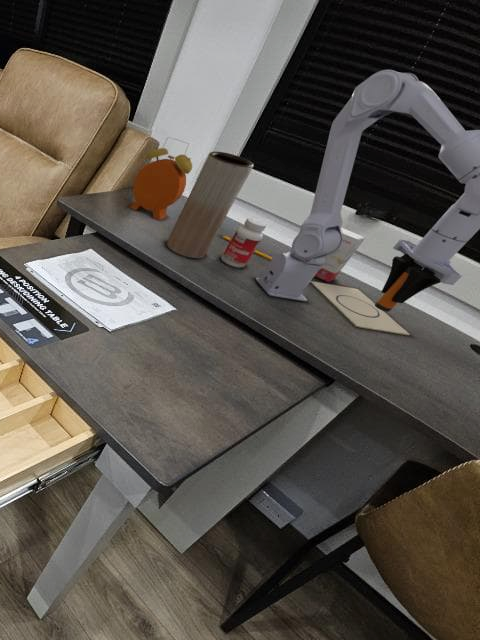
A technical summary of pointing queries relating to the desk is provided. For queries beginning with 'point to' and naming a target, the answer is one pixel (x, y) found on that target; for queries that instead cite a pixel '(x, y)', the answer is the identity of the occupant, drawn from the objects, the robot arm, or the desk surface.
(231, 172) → the planter
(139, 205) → the alarm clock
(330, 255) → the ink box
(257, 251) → the pencil
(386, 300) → the marker
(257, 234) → the pill bottle
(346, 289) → the paper
